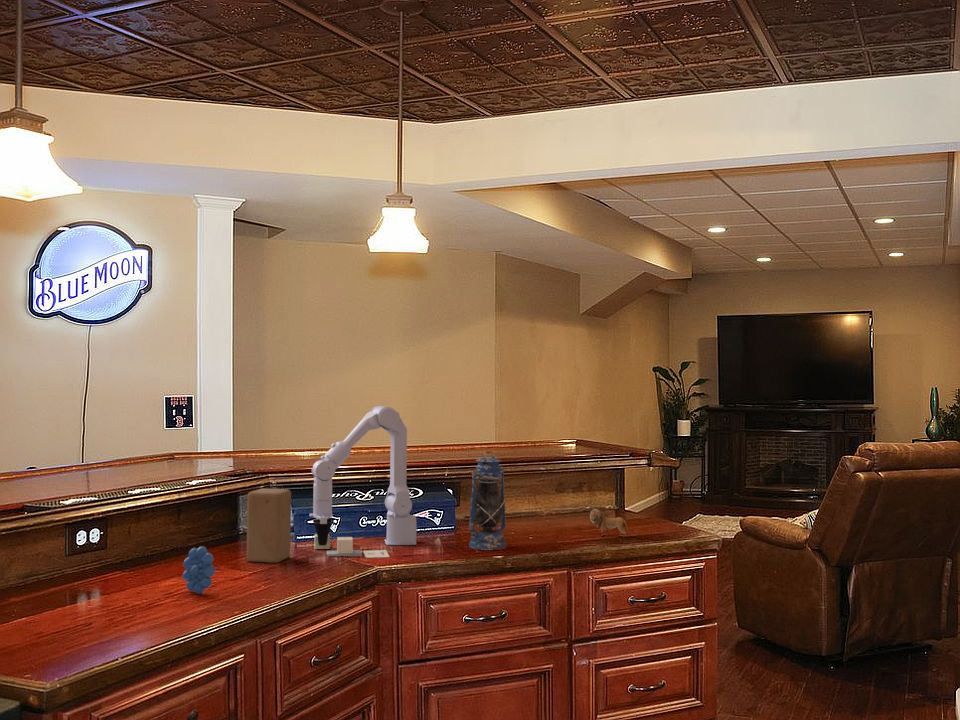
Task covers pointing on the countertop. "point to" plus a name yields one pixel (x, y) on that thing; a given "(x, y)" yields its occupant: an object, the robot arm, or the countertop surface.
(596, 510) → the lion figurine
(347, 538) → the brick
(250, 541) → the wooden block
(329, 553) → the base brick
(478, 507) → the lantern
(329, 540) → the pale green cube
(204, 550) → the grapes
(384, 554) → the page
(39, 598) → the countertop surface
